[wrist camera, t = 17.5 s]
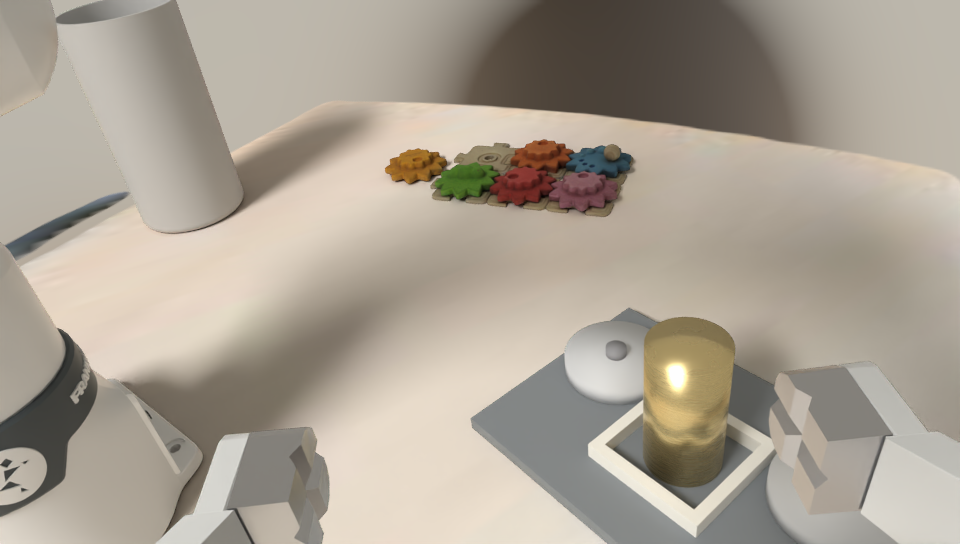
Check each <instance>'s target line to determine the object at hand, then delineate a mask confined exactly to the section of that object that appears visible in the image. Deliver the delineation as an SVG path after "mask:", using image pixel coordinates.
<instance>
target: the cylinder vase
mask: <svg viewBox="0 0 960 544" xmlns="http://www.w3.org/2000/svg"><path fill="white" fill-rule="evenodd" d="M55 17H56V24H57V30H58V38H59V40H60V42H61V44H62V47H63V49H64V51H65V53H66V55H67V57H68V60H69V62H70V64H71V66H72V68H73V70H74V72H75V75H76V77H77V79H78V81H79V83H80V86H81V88H82V90H83V92H84V94H85V96H86V98H87V101H88V103H89V105H90V107H91V109H92V111H93V114H94V116H95V118H96V120H97V122H98V124H99V127H100V129H101V131H102V133H103V135H104V137H105V140H106V142H107V144H108V146H109V148H110V150H111V152H112V155H113V157H114V159H115V161H116V163H117V165H118V168H119V170H120V172H121V174H122V176H123V178H124V181H125V183H126V185H127V187H128V189H129V191H130V194H131V196H132V198H133V200H134V202H135V204H136V206H137V209H138V211H139V213H140V215H141V217H142V219H143V221H144V223H145V224H146V225H147V226H148V227H149V228H151V229H153V230H155V231H158V232H164V233H180V232H187V231H192V230H196V229H200V228H203V227H206V226H209V225H211V224H214V223H216V222H218V221H220V220H222V219H223V218H225V217H227V216H228V215H230V214H231V213H232V212H233V211H235V210H236V209H237V208H238V206H239V205H240V204H241V202H242V200H243V196H244V192H243V188H242V185H241V182H240V180H239V177H238V174H237V171H236V168H235V166H234V163H233V160H232V157H231V154H230V151H229V149H228V146H227V143H226V140H225V137H224V134H223V132H222V129H221V126H220V123H219V120H218V118H217V115H216V112H215V109H214V106H213V104H212V101H211V98H210V95H209V92H208V89H207V86H206V84H205V81H204V78H203V75H202V72H201V70H200V67H199V64H198V61H197V59H196V55H195V53H194V50H193V47H192V44H191V41H190V39H189V36H188V33H187V30H186V27H185V24H184V22H183V19H182V16H181V13H180V10H179V7H178V5H177V2H176V0H102V1H97V2H93V3H89V4H86V5H83V6H79V7H76V8H73V9H70V10H68V11H65V12H63V13H61V14H59V15H57V16H55Z"/></svg>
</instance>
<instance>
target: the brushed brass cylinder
mask: <svg viewBox="0 0 960 544" xmlns="http://www.w3.org/2000/svg"><path fill="white" fill-rule="evenodd" d="M734 356H735V344H734V341H733V339H732V337H731V336H730V335H729V333H728V332H727V331H725V330H724V329H723V328H722V327H720V326H718V325H717V324H715V323H712V322H710V321H707V320H704V319H699V318H693V317H678V318H671V319H667V320H664V321H662V322H660V323H658V324H656V325H655V326H653V327H652V328H651V329H650V330H649V331H648V332H647V334H646V336H645V339H644V383H643V459H644V462H645V464H646V466H647V468H648V469H649V471H650V472H651V473H652V474H653V475H654V476H655V477H657V478H658V479H659V480H661V481H663V482H665V483H667V484H670V485H673V486H677V487H683V488H692V487H698V486H702V485H705V484H707V483H709V482H711V481H712V480H713V479H715V478H716V477H717V475H718V474H719V472H720V471H721V468H722V463H723V454H724V445H725V437H726V428H727V419H728V410H729V401H730V392H731V383H732V374H733V365H734Z"/></svg>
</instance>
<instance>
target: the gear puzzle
mask: <svg viewBox="0 0 960 544" xmlns="http://www.w3.org/2000/svg"><path fill="white" fill-rule="evenodd" d="M490 159H491V160H490ZM632 162H633V157H631V155H629V154H626V153H621V148H619V147H618V146H616V145H614V144H611V145H608V146H607V147H606V146H598V147H596V148H594V149H592V148H582V149H581V153H575V152H574V151H573V150H570V149H566V147H565V144H556V143H555V141H547V140H545V139H544V140H541V141H533V142H532V143H529V144H526V146H525V148H509V144H507V143H494V146H493V147H490V146H475V147H473V148H472V149H471V151H470V152H469V153H468V154H463V153H460V154H458V155H457V157H456V158H455V159H454V163H459V164H458V165H456V166H455V167H453V168H452V169H451V170H446V171H443V169H442V167H443V166H445V165H447V161H446V159H444V158H441V157H440V155H439V153H438V152H430V153H429V151H428V150H421V149H419V148H418V149H415V150H407V151H406V152H404V153H401V154H400V156H399V157H396V158H392V159H390V165H389V166H387V167H386V168H385V172H386V173H387V174H392V175H391V177H392V180H393V181H397V180H402V179H404V180H405V181H406V183H408V184H410V183H412V182H414V181H416V180H417V179H420V180H424V181H429V180H430V179H431V175H439V174H441V177H442V178H437V179H436V180H435V181H434V182H433V183H432V185H431V189H437V190H436V191H435V192H434V193H433V195H432V197H433V199H434V200H441V201H450V200H451V197H453V196H455V198H456V199H461V198H463V197H468V198H467V199H466V203H472V204H485V203H487V204H488V205H491V206H499V207H507V203H508V202H513V203H514V204H515V205H519V204H521V203H525V205H523V209H530V210H544V209H547V210H548V211H550V212H558V213H567V212H568V211H567V209H569V208H576V209H577V210H579V211H584V210H586V209H587V210H586V212H585V215H589V216H599V217H606V216H608V215H609V214H610V212H611V210H612V208H613V203H605V201H606V200H608V201H610V200H614V199H617V196H618V194H619V192H620V190H621V186H620V185H622V184H623V183H624V180H625V178H626V174H625V173H620V174H619V173H618V172H619V171H627V170H630V167H631V165H632ZM561 179H563V181H560V180H561Z"/></svg>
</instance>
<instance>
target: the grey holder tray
mask: <svg viewBox="0 0 960 544" xmlns="http://www.w3.org/2000/svg"><path fill="white" fill-rule="evenodd" d="M656 324H658V323H657V322H655V321H653V320H651V319H649V318H647V317H645V316H644V315H642V314H640V313H638V312H636V311H634V310H632V309H631V308H628V309H626V310H625V311H624V312H622V313H621V314H619V315H618V316H616V317H615V318H614V319H612V320H611V321H606V322H600V323H596V324H592V325H589V326H587V327H585V328H583V329H581V330H580V331H578V332H577V333H575V334H574V335H573V336H572V337H571V338H570V340H569V341H568V343H567V345H566V348H565V353H563V354H562V355H561V356H559V357H558V358H556V359H555V360H553V361H552V362H551V363H549V364H548V365H546V366H545V367H543V368H542V369H541V370H539V371H538V372H536V373H535V374H533V375H532V376H531V377H529V378H528V379H526V380H525V381H523V382H522V383H521V384H519V385H518V386H516V387H515V388H513V389H512V390H511V391H509V392H508V393H506V394H505V395H503V396H502V397H501V398H499V399H498V400H496V401H495V402H493V403H492V404H491V405H489V406H488V407H486V408H485V409H483V410H482V411H481V412H479V413H478V414H476V415H475V416H473V417H472V418H471V423H472V428H473V429H475V430H476V431H477V432H478V433H479V434H480V435H482V436H483V437H484V438H485V439H486V440H487V441H489V442H490V443H491V444H492V445H493V446H494V447H496V448H497V449H498V450H499V451H500V452H501V453H503V454H504V455H505V456H506V457H507V458H508V459H510V460H511V461H512V462H513V463H514V464H515V465H517V466H518V467H519V468H520V469H521V470H522V471H524V472H525V473H526V474H527V475H528V476H529V477H531V478H532V479H533V480H534V481H535V482H536V483H538V484H539V485H540V486H541V487H542V488H543V489H545V490H546V491H547V492H548V493H549V494H550V495H552V496H553V497H554V498H555V499H556V500H557V501H559V502H560V503H561V504H562V505H563V506H564V507H566V508H567V509H568V510H569V511H570V512H571V513H573V514H574V515H575V516H576V517H577V518H578V519H580V520H581V521H582V522H583V523H584V524H585V525H587V526H588V527H589V528H590V529H591V530H592V531H594V532H595V533H596V534H597V535H598V536H599V537H601V538H602V539H603V540H604V541H605V542H606V543H608V544H899V543H897V542H896V541H895V540H894V539H892V538H891V537H890V536H889V535H887V534H886V533H885V532H884V531H882V530H881V529H880V528H878V527H877V526H876V525H875V524H873V523H872V522H871V521H870V520H868V519H867V518H866V517H865V516H863V515H862V514H861V511H851V512H838V513H826V514H814V515H809V514H808V513H807V511H806V509H805V507H804V505H803V503H802V501H801V499H800V497H799V495H798V493H797V491H796V489H795V488H794V486H793V484H792V477H793V473H794V469H793V468H791V467H790V466H788V465H787V464H785V463H784V462H782V461H781V460H780V458H779V456H778V454H777V452H776V450H775V448H774V445H773V442H772V439H771V435H770V427H769V415H770V408H771V406H772V405H773V404H774V403H775V402H776V401H777V400H778V399H779V397H778V395H777V393H776V391H775V389H774V385H772V384H770V383H769V382H767V381H765V380H763V379H761V378H759V377H757V376H756V375H754V374H752V373H750V372H748V371H746V370H744V369H742V368H741V367H739V366H737V365H735V364H734V365H733V374H732V383H731V392H730V401H729V410H728V419H727V428H726V437H725V445H724V454H723V463H722V468H721V471H720V472H719V474H718V475H717V477H716V478H715V479H713V480H712V481H711V482H709V483H707V484H705V485H702V486H698V487H692V488H683V487H677V486H673V485H670V484H667V483H665V482H663V481H661V480H659V479H658V478H657V477H655V476H654V475H653V474H652V473H651V472H650V471H649V469H648V468H647V466H646V464H645V462H644V459H643V383H644V339H645V336H646V334H647V332H648V331H649V330H650V329H651V328H652V327H653V326H655V325H656Z"/></svg>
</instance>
